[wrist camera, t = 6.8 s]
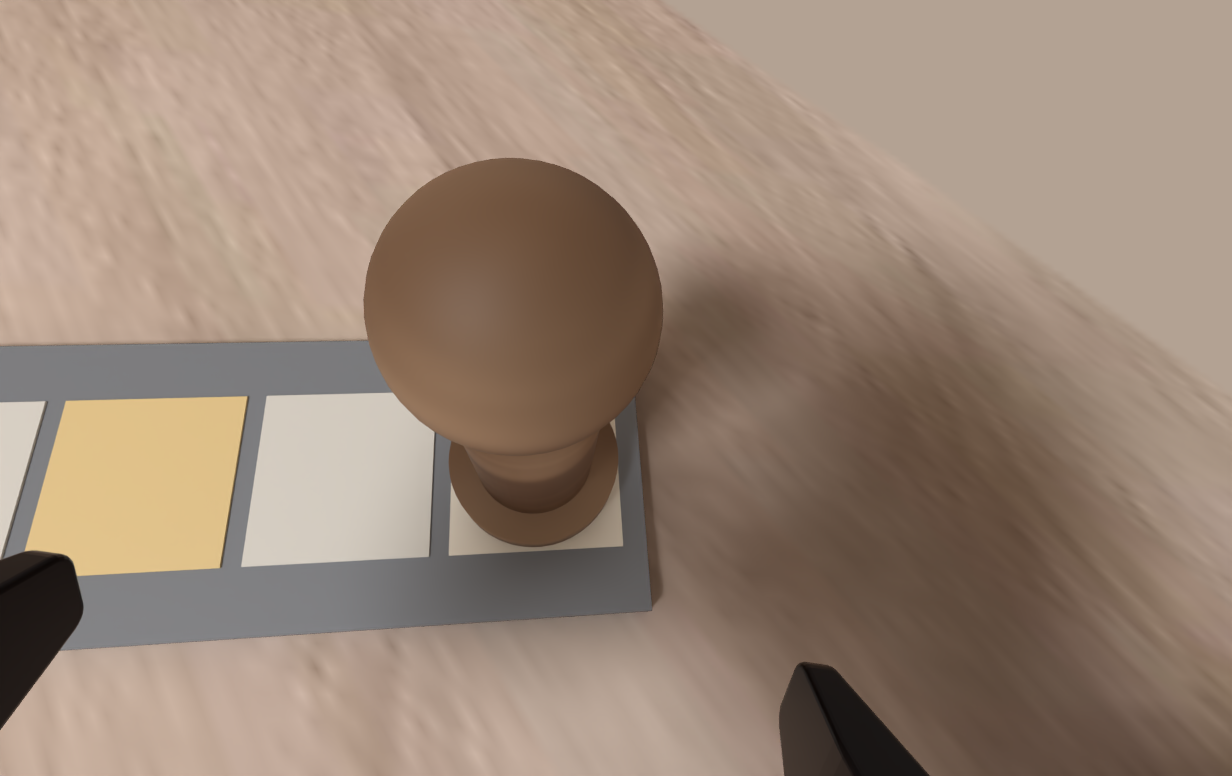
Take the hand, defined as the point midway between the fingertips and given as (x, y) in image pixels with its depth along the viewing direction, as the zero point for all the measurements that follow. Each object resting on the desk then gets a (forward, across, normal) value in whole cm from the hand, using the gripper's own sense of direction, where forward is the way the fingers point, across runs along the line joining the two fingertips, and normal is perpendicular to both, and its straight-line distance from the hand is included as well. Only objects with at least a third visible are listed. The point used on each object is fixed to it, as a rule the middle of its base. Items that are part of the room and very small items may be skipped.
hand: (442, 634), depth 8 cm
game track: (+10, +8, +6) cm, 15 cm away
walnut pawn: (+11, 0, +4) cm, 12 cm away
